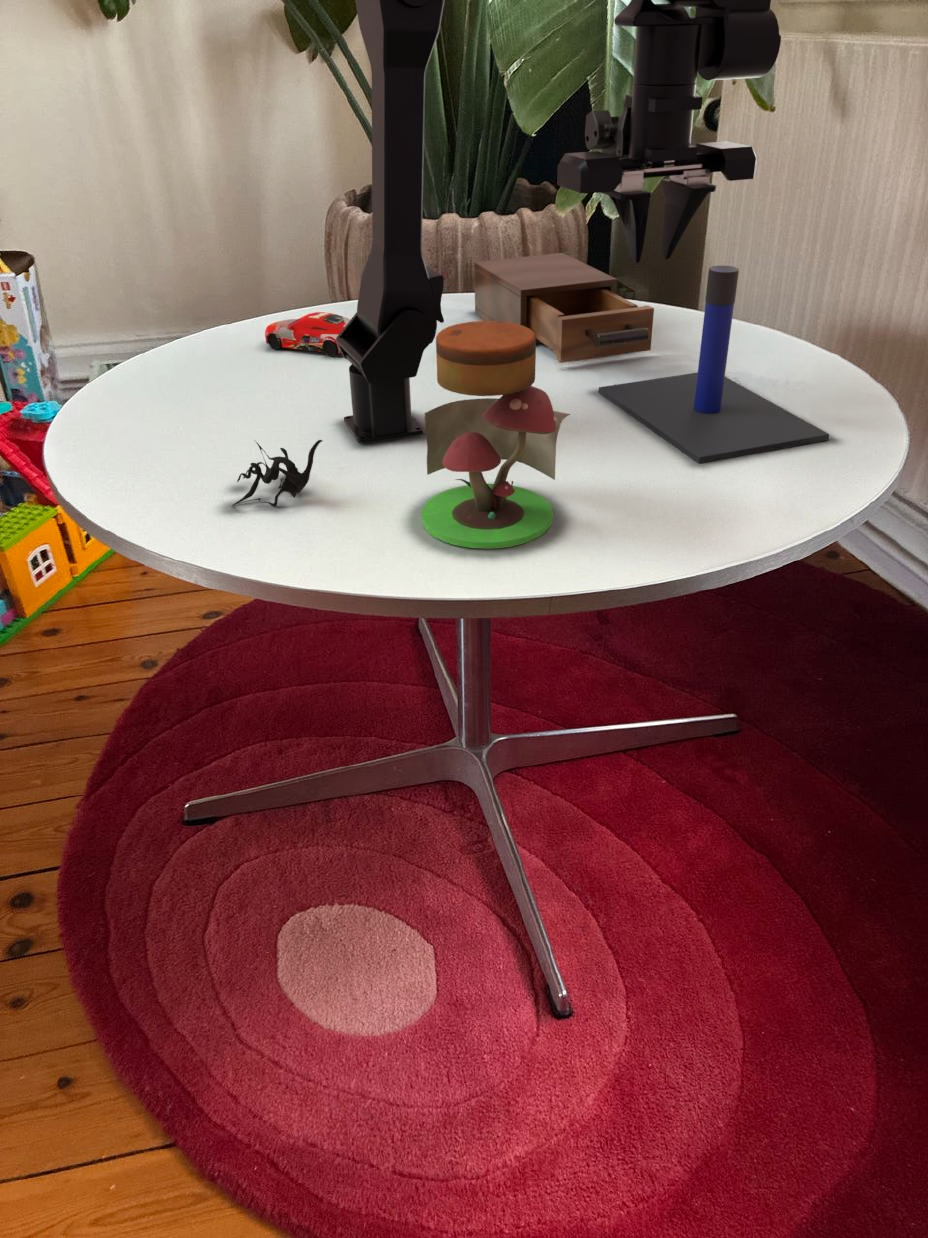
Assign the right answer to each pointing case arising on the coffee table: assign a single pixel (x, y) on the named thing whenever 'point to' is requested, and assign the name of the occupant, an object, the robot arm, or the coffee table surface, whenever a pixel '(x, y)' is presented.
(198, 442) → the coffee table surface
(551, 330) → the drawer
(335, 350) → the race car
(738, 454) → the desk mat
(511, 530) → the mushroom figurine
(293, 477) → the creature
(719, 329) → the marker
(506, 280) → the cabinet
